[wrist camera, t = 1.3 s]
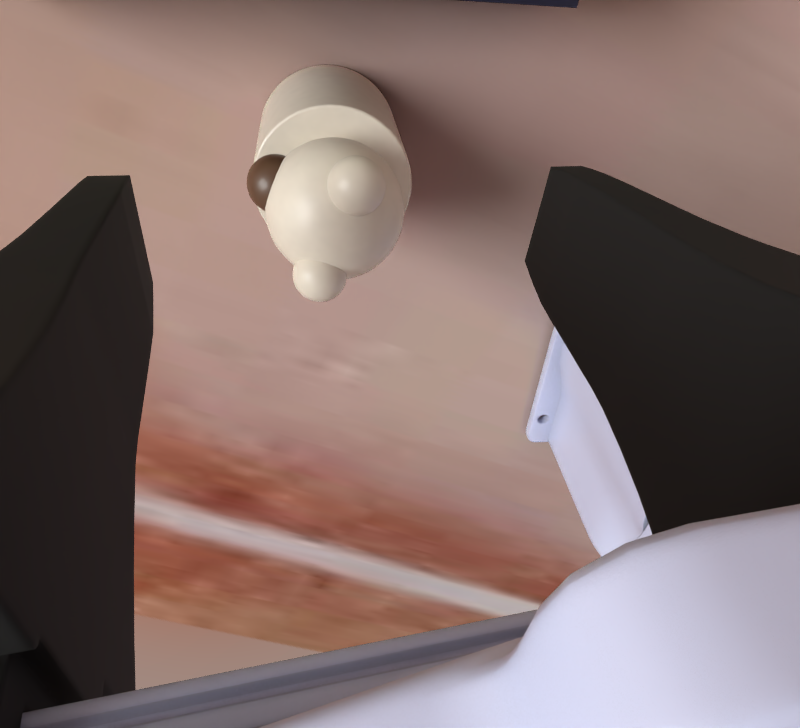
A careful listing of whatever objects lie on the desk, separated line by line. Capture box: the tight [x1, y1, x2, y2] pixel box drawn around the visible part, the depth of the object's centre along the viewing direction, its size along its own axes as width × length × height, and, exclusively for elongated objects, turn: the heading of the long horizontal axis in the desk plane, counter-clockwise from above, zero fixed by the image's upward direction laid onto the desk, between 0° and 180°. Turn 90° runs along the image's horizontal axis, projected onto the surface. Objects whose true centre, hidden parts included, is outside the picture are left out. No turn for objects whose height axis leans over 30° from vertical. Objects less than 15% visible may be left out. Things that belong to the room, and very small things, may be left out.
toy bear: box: [247, 65, 412, 302], centre depth 17 cm, size 4×4×7 cm
